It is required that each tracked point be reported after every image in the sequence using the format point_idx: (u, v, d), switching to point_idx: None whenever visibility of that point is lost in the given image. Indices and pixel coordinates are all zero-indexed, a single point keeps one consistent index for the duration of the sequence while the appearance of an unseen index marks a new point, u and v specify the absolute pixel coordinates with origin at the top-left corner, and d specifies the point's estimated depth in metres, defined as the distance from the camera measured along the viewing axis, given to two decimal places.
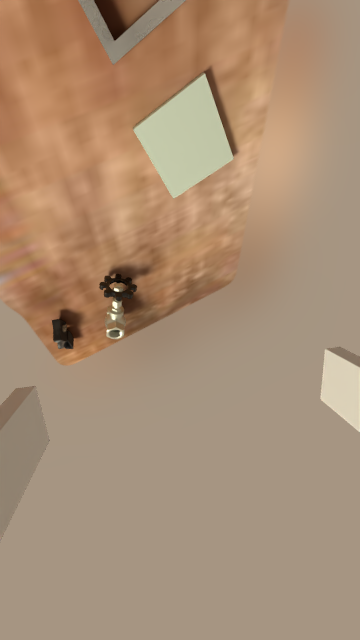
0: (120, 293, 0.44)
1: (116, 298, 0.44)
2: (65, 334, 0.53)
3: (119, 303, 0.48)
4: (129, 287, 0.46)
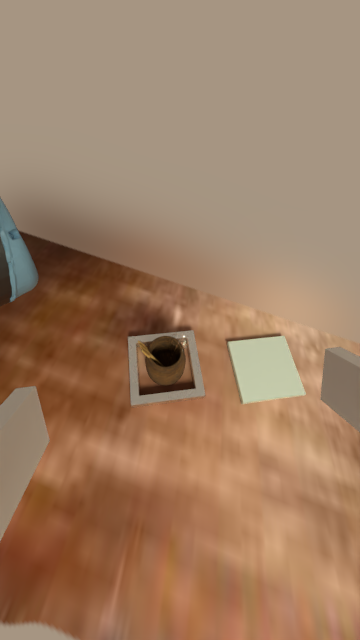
0: None
1: None
2: None
3: None
4: None
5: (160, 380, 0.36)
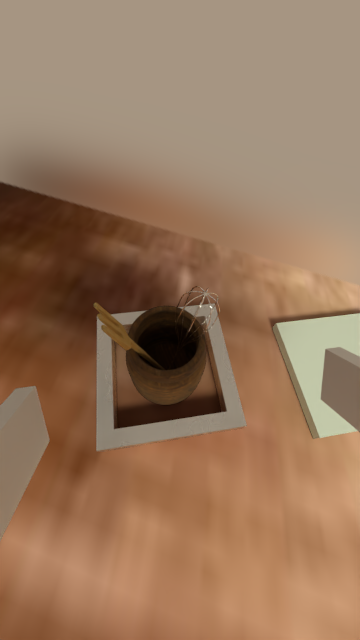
0: None
1: None
2: None
3: None
4: None
5: (156, 397, 0.18)
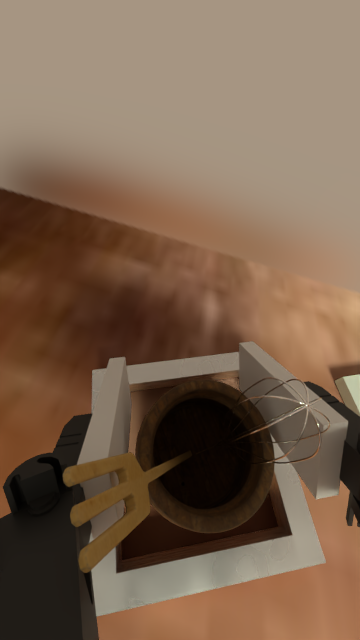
0: None
1: None
2: None
3: None
4: None
5: None
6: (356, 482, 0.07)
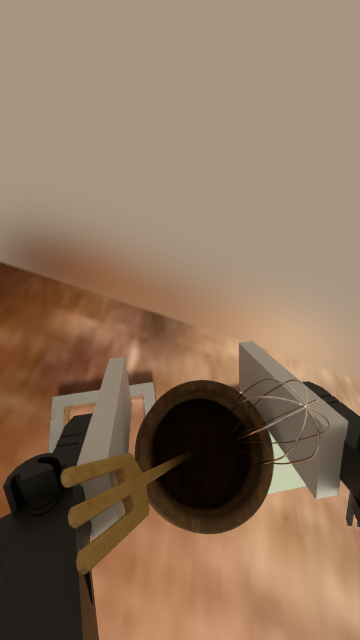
0: None
1: None
2: None
3: None
4: None
5: None
6: (356, 482, 0.07)
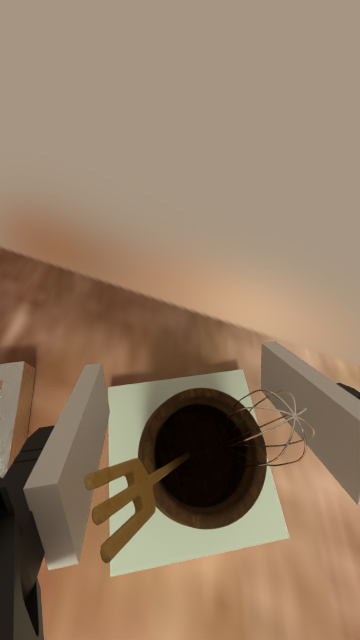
0: None
1: None
2: None
3: None
4: None
5: None
6: None
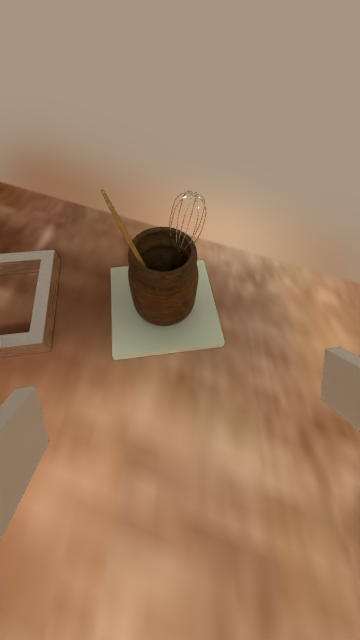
0: None
1: None
2: None
3: None
4: None
5: (155, 310, 0.20)
6: None
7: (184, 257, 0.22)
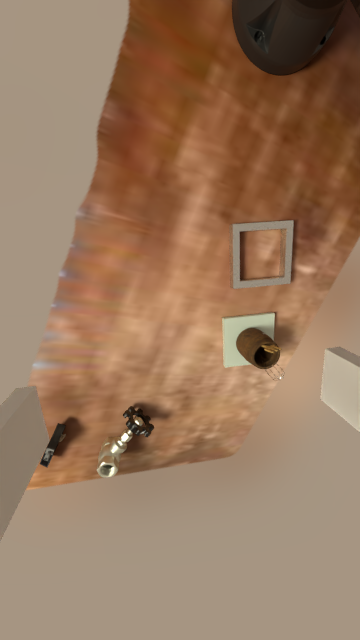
0: (141, 428, 0.46)
1: (136, 431, 0.45)
2: None
3: (129, 437, 0.48)
4: (148, 425, 0.48)
5: (241, 343, 0.45)
6: None
7: (267, 358, 0.46)
